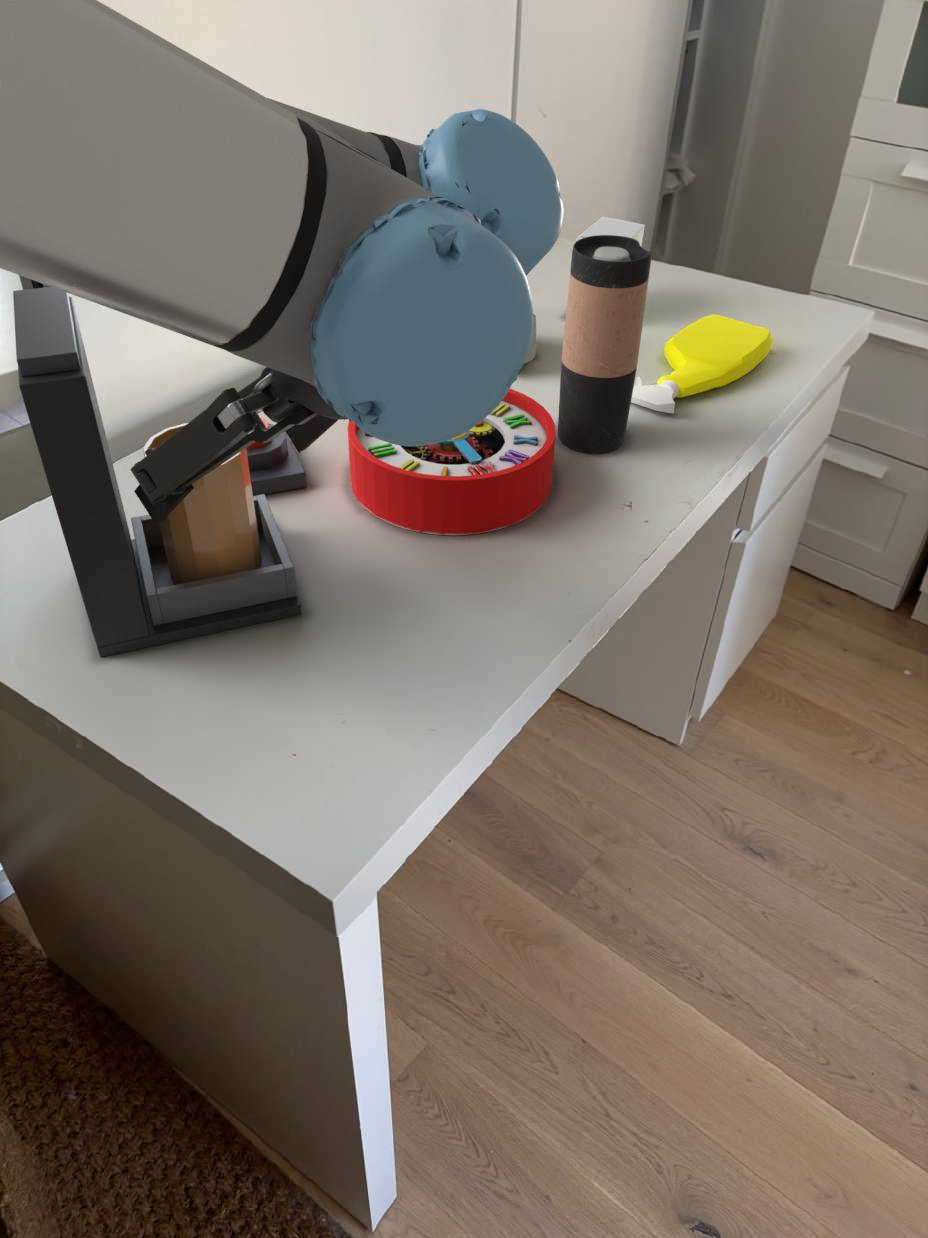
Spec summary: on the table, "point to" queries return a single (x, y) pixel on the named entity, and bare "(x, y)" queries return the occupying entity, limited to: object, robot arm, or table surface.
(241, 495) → the cup
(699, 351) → the spray bottle
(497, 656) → the table surface
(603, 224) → the cosmetics box
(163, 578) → the coffee maker
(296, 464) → the switch block
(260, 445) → the button
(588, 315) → the travel mug
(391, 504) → the toy clock
